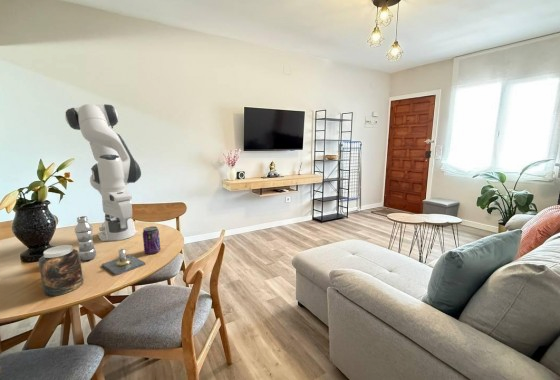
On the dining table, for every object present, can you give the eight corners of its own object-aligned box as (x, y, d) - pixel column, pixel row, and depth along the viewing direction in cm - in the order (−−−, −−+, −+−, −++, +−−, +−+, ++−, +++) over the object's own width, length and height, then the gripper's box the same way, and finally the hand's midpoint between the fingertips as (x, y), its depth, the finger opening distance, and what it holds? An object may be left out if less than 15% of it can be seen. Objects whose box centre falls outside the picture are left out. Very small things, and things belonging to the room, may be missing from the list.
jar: (38, 290, 97) (31, 251, 94) (75, 276, 107) (70, 241, 104) (51, 299, 91) (44, 258, 88) (89, 284, 101) (84, 247, 98)
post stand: (101, 266, 115) (99, 250, 114) (130, 256, 125) (129, 242, 123) (115, 275, 107) (113, 259, 106) (145, 264, 116) (143, 249, 115)
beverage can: (154, 255, 126) (151, 231, 124) (141, 254, 127) (138, 230, 125) (163, 249, 133) (161, 226, 131) (151, 248, 134) (148, 225, 132)
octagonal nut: (107, 230, 112) (105, 221, 111) (123, 226, 117) (122, 218, 116) (113, 233, 108) (112, 224, 107) (130, 229, 113) (128, 220, 112)
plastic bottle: (86, 263, 118) (79, 220, 114) (75, 261, 120) (69, 218, 117) (100, 257, 124) (94, 216, 120) (90, 255, 126) (84, 214, 123)
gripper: (96, 192, 114) (100, 223, 116) (116, 198, 101) (121, 232, 104) (112, 190, 119) (116, 220, 121) (133, 195, 106) (137, 228, 109)
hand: (118, 226), depth 112 cm, fingers closed on octagonal nut, 6 cm apart
